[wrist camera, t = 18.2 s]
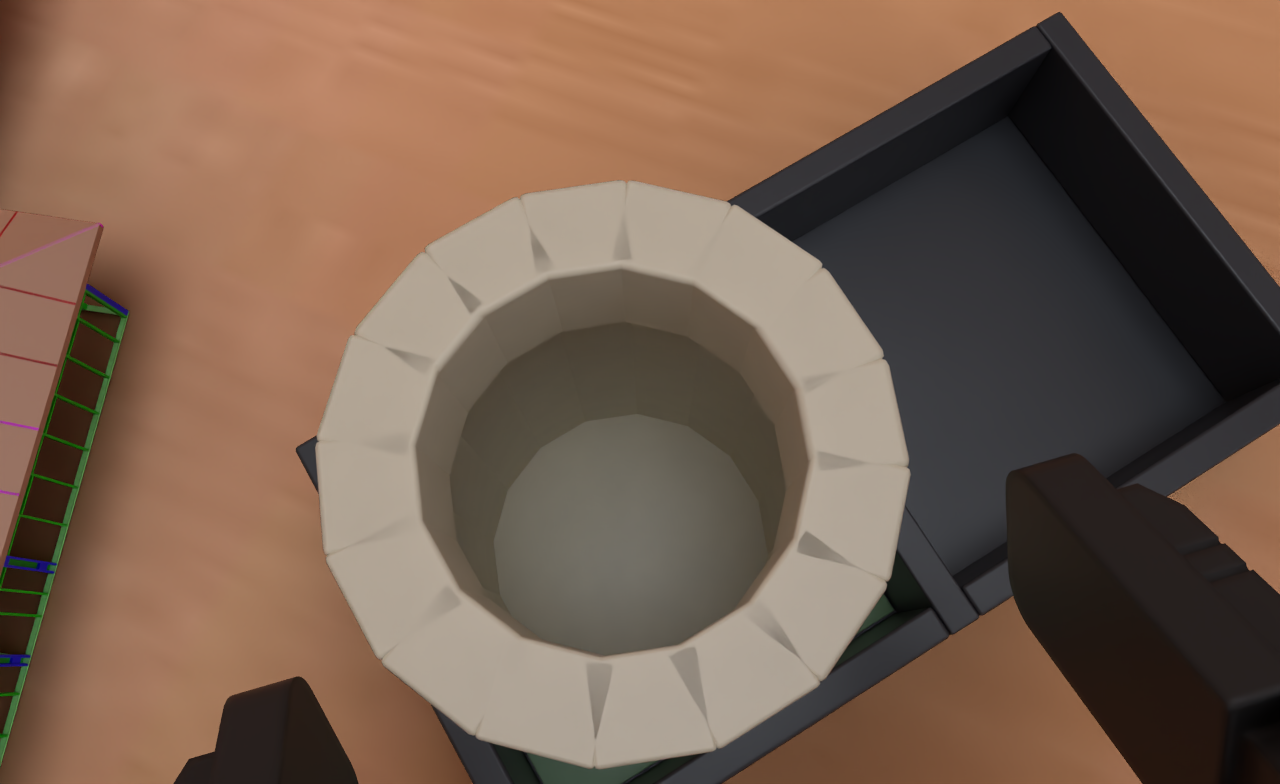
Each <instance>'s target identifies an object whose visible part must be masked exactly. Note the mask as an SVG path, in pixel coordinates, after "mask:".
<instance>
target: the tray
mask: <svg viewBox="0 0 1280 784" xmlns="http://www.w3.org/2000/svg"><path fill="white" fill-rule="evenodd" d="M727 202H728V203H730V204H731V206H733V205H737V206H739V207H740V208H742V209H743V210H745V211H746V212H748V213H749V214H751V215H752V216H754V217H755V218H757V219H758V220H760V221H761V222H763V223H764V224H766V225H767V226H769V227H770V228H772V229H773V230H775V231H776V232H778V233H779V234H781V235H782V236H784V237H785V238H787V239H788V240H790V241H791V242H793V243H794V244H796V245H797V246H799V247H800V248H802V249H803V250H805V251H806V252H808V253H809V254H811V255H812V256H814V257H815V258H816V259H818V260H819V261H820V262H821V263H822V268H825V269H826V270H827V271H829V272H830V274H831V275H832V277H833V278H834V280H835V281H836V283H837V284H838V286H839V287H840V288H841V290H842V291H843V293H844V294H845V296H846V297H847V299H848V300H849V302H850V303H851V304H852V306H853V307H854V309H855V310H856V312H857V313H858V315H859V316H860V318H861V319H862V321H863V322H864V323H865V325H866V326H867V328H868V329H869V331H870V332H871V334H872V335H873V337H874V338H875V339H876V341H877V342H878V344H879V345H880V347H881V348H882V350H883V354H884V357H883V358H882V359H884V360H886V361H887V363H888V365H889V367H890V371H891V376H892V381H893V385H894V390H895V395H896V399H897V404H898V409H899V413H900V418H901V423H902V427H903V432H904V437H905V441H906V446H907V451H908V455H909V464H908V467H907V468H908V469H910V473H911V476H910V481H909V486H908V491H907V497H906V502H905V507H904V512H903V518H902V523H901V528H900V533H899V539H898V544H897V549H896V554H895V560H894V565H893V570H892V576H891V578H890V580H889V581H888V582H886V583H887V588H886V590H885V592H884V593H883V595H882V596H881V598H880V599H879V601H878V602H877V604H876V605H875V607H874V608H873V610H872V611H871V613H870V614H869V616H868V617H867V619H866V620H865V622H864V623H863V624H862V626H861V627H860V629H859V630H858V632H857V633H856V635H855V636H854V638H853V639H852V641H851V642H850V644H849V645H848V647H847V648H846V650H845V651H844V653H843V654H842V656H841V657H840V659H839V660H838V662H837V663H836V664H835V666H834V667H833V669H832V670H831V672H830V673H829V675H828V676H827V678H826V679H824V680H823V681H820V685H819V686H818V687H817V688H816V689H814V690H813V691H811V692H809V693H808V694H806V695H805V696H803V697H802V698H800V699H798V700H797V701H795V702H794V703H792V704H791V705H789V706H787V707H786V708H784V709H783V710H781V711H780V712H778V713H777V714H775V715H773V716H772V717H770V718H769V719H767V720H766V721H764V722H762V723H761V724H759V725H758V726H756V727H755V728H753V729H751V730H750V731H748V732H747V733H745V734H744V735H742V736H740V737H739V738H737V739H736V740H734V741H733V742H731V743H729V744H728V745H726V746H725V747H723V748H719V749H718V748H717V747H716V750H714V751H713V752H708V753H702V754H695V755H689V756H683V757H676V758H670V759H663V760H657V761H651V762H644V763H638V764H632V765H625V766H619V767H612V768H606V769H600V770H599V769H596V768H595V767H594V768H592V769H587V768H583V767H580V766H576V765H572V764H568V763H564V762H561V761H557V760H553V759H549V758H546V757H542V756H538V755H534V754H530V753H527V752H523V751H519V750H515V749H512V748H508V747H504V746H500V745H497V744H493V743H489V742H485V741H481V740H478V739H477V738H476V735H474V736H473V735H469V734H468V733H467V732H465V731H464V730H463V729H462V728H460V727H459V726H458V725H457V724H455V723H454V722H453V721H451V720H450V719H449V718H448V717H446V716H445V715H444V714H443V713H441V712H440V711H439V710H438V709H436V708H435V707H434V706H433V705H431V706H432V708H433V710H434V711H435V713H436V715H437V717H438V719H439V721H440V723H441V725H442V727H443V728H444V730H445V732H446V734H447V736H448V738H449V740H450V742H451V743H452V745H453V747H454V749H455V751H456V753H457V755H458V757H459V758H460V760H461V762H462V764H463V766H464V768H465V770H466V772H467V773H468V775H469V777H470V779H471V781H472V783H473V784H722V783H724V782H725V781H727V780H728V779H730V778H731V777H733V776H735V775H736V774H738V773H739V772H741V771H742V770H744V769H745V768H747V767H748V766H750V765H752V764H753V763H755V762H756V761H758V760H759V759H761V758H762V757H764V756H766V755H767V754H769V753H770V752H772V751H773V750H775V749H776V748H778V747H779V746H781V745H783V744H784V743H786V742H787V741H789V740H790V739H792V738H793V737H795V736H797V735H798V734H800V733H801V732H803V731H804V730H806V729H807V728H809V727H811V726H812V725H814V724H815V723H817V722H818V721H820V720H821V719H823V718H824V717H826V716H828V715H829V714H831V713H832V712H834V711H835V710H837V709H838V708H840V707H842V706H843V705H845V704H846V703H848V702H849V701H851V700H852V699H854V698H856V697H857V696H859V695H860V694H862V693H863V692H865V691H866V690H868V689H869V688H871V687H873V686H874V685H876V684H877V683H879V682H880V681H882V680H883V679H885V678H887V677H888V676H890V675H891V674H893V673H894V672H896V671H897V670H899V669H901V668H902V667H904V666H905V665H907V664H908V663H910V662H911V661H913V660H914V659H916V658H918V657H919V656H921V655H922V654H924V653H925V652H927V651H928V650H930V649H932V648H933V647H935V646H936V645H938V644H939V643H941V642H942V641H944V640H945V639H947V638H948V637H949V635H952V634H955V633H957V632H958V631H960V630H961V629H963V628H964V627H966V626H968V625H969V624H971V623H972V622H974V621H975V620H977V619H978V618H979V616H981V615H984V614H986V613H987V612H989V611H990V610H992V609H994V608H995V607H997V606H998V605H1000V604H1001V603H1003V602H1004V601H1006V600H1008V599H1009V598H1011V597H1012V596H1013V593H1012V589H1011V585H1010V580H1009V573H1008V549H1007V519H1006V490H1005V488H1006V478H1007V476H1008V474H1009V472H1011V471H1013V470H1017V469H1020V468H1023V467H1027V466H1030V465H1034V464H1037V463H1041V462H1044V461H1047V460H1051V459H1054V458H1058V457H1061V456H1065V455H1068V454H1071V453H1077V454H1080V455H1081V456H1083V457H1085V458H1086V459H1087V460H1088V461H1089V462H1090V463H1091V464H1092V465H1093V466H1094V467H1095V468H1096V469H1097V470H1098V471H1099V472H1100V473H1101V474H1102V475H1103V476H1104V477H1105V478H1106V479H1107V480H1108V481H1109V482H1110V483H1111V484H1112V485H1113V486H1114V487H1115V488H1116V489H1119V488H1123V487H1126V486H1130V485H1133V484H1136V483H1138V484H1140V485H1142V486H1144V487H1147V488H1149V489H1151V490H1153V491H1155V492H1157V493H1159V494H1161V495H1163V496H1166V497H1167V496H1169V495H1170V494H1172V493H1174V492H1175V491H1177V490H1178V489H1180V488H1181V487H1183V486H1184V485H1186V484H1188V483H1189V482H1191V481H1192V480H1194V479H1195V478H1197V477H1198V476H1200V475H1201V474H1203V473H1205V472H1206V471H1208V470H1209V469H1211V468H1212V467H1214V466H1215V465H1217V464H1219V463H1220V462H1222V461H1223V460H1225V459H1226V458H1228V457H1229V456H1231V455H1233V454H1234V453H1236V452H1237V451H1239V450H1240V449H1242V448H1243V447H1245V446H1246V445H1248V444H1250V443H1251V442H1253V441H1254V440H1256V439H1257V438H1259V437H1260V436H1262V435H1264V434H1265V433H1267V432H1268V431H1270V430H1271V429H1273V428H1274V427H1276V426H1277V425H1279V424H1280V287H1279V286H1278V284H1277V283H1276V282H1275V281H1274V279H1273V278H1272V277H1271V276H1270V274H1269V273H1268V272H1267V271H1266V269H1265V268H1264V267H1263V266H1262V264H1261V263H1260V262H1259V261H1258V259H1257V258H1256V257H1255V256H1254V254H1253V253H1252V252H1251V250H1250V249H1249V248H1248V247H1247V245H1246V244H1245V243H1244V242H1243V240H1242V239H1241V238H1240V237H1239V235H1238V234H1237V233H1236V232H1235V230H1234V229H1233V228H1232V227H1231V225H1230V224H1229V223H1228V222H1227V220H1226V219H1225V218H1224V217H1223V215H1222V214H1221V213H1220V212H1219V210H1218V209H1217V208H1216V207H1215V205H1214V204H1213V203H1212V202H1211V200H1210V199H1209V198H1208V196H1207V195H1206V194H1205V193H1204V191H1203V190H1202V189H1201V188H1200V186H1199V185H1198V184H1197V183H1196V181H1195V180H1194V179H1193V178H1192V176H1191V175H1190V174H1189V173H1188V171H1187V170H1186V169H1185V168H1184V166H1183V165H1182V164H1181V163H1180V161H1179V160H1178V159H1177V158H1176V156H1175V155H1174V154H1173V153H1172V151H1171V150H1170V149H1169V147H1168V146H1167V145H1166V144H1165V142H1164V141H1163V140H1162V139H1161V137H1160V136H1159V135H1158V134H1157V132H1156V131H1155V130H1154V129H1153V127H1152V126H1151V125H1150V124H1149V122H1148V121H1147V120H1146V119H1145V117H1144V116H1143V115H1142V114H1141V112H1140V111H1139V110H1138V109H1137V107H1136V106H1135V105H1134V104H1133V102H1132V101H1131V100H1130V98H1129V97H1128V96H1127V95H1126V93H1125V92H1124V91H1123V90H1122V88H1121V87H1120V86H1119V85H1118V83H1117V82H1116V81H1115V80H1114V78H1113V77H1112V76H1111V75H1110V73H1109V72H1108V71H1107V70H1106V68H1105V67H1104V66H1103V65H1102V63H1101V62H1100V61H1099V60H1098V58H1097V57H1096V56H1095V55H1094V53H1093V52H1092V51H1091V50H1090V48H1089V47H1088V46H1087V44H1086V43H1085V42H1084V41H1083V39H1082V38H1081V37H1080V36H1079V34H1078V33H1077V32H1076V31H1075V29H1074V28H1073V27H1072V26H1071V24H1070V23H1069V22H1068V21H1067V19H1066V18H1065V17H1064V16H1063V14H1062V13H1060V12H1058V13H1056V14H1054V15H1052V16H1051V17H1049V18H1047V19H1045V20H1044V21H1042V22H1040V23H1038V24H1037V25H1036V27H1032V28H1030V29H1028V30H1026V31H1025V32H1023V33H1021V34H1019V35H1018V36H1016V37H1014V38H1012V39H1011V40H1009V41H1007V42H1005V43H1004V44H1002V45H1000V46H998V47H997V48H995V49H993V50H991V51H990V52H988V53H986V54H984V55H983V56H981V57H979V58H977V59H976V60H974V61H972V62H970V63H969V64H967V65H965V66H963V67H961V68H960V69H958V70H956V71H954V72H953V73H951V74H949V75H947V76H946V77H944V78H942V79H940V80H939V81H937V82H935V83H933V84H932V85H930V86H928V87H926V88H925V89H923V90H921V91H919V92H918V93H916V94H914V95H912V96H911V97H909V98H907V99H905V100H904V101H902V102H900V103H898V104H897V105H895V106H893V107H891V108H890V109H888V110H886V111H884V112H883V113H881V114H879V115H877V116H876V117H874V118H872V119H870V120H869V121H867V122H865V123H863V124H862V125H860V126H858V127H856V128H855V129H853V130H851V131H849V132H848V133H846V134H844V135H842V136H841V137H839V138H837V139H835V140H834V141H832V142H830V143H828V144H827V145H825V146H823V147H821V148H820V149H818V150H816V151H814V152H813V153H811V154H809V155H807V156H806V157H804V158H802V159H800V160H799V161H797V162H795V163H793V164H792V165H790V166H788V167H786V168H785V169H783V170H781V171H779V172H778V173H776V174H774V175H772V176H771V177H769V178H767V179H765V180H764V181H762V182H760V183H758V184H757V185H755V186H753V187H751V188H750V189H748V190H746V191H744V192H742V193H741V194H739V195H737V196H735V197H734V198H732V199H730V200H728V201H727ZM317 442H319V441H318V440H317V436H315V437H313V438H312V439H310V440H308V441H306V442H305V443H303V444H301V445H299V446H298V447H297V448H296V452H297V454H298V456H299V458H300V460H301V462H302V464H303V466H304V468H305V469H306V471H307V473H308V475H309V477H310V479H311V481H312V483H313V484H314V486H315V488H316V490H317V492H318V494H319V490H318V478H317V465H316V452H315V447H316V443H317Z"/></svg>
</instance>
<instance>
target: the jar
mask: <svg viewBox="0 0 1280 784" xmlns="http://www.w3.org/2000/svg"><path fill="white" fill-rule="evenodd" d="M883 357H884V354H883V350H882V348H881V347H880V345H879V344H878V342H877V341H876V339H875V338H874V337H873V335H872V334H871V332H870V331H869V329H868V328H867V326H866V325H865V323H864V322H863V321H862V319H861V318H860V316H859V315H858V313H857V312H856V310H855V309H854V307H853V306H852V304H851V303H850V302H849V300H848V299H847V297H846V296H845V294H844V293H843V291H842V290H841V288H840V287H839V286H838V284H837V283H836V281H835V280H834V278H833V277H832V275H831V274H830V272H829V271H827V270H826V269H825V268H822V263H821V262H820V261H819V260H818V259H816V258H815V257H814V256H812V255H811V254H809V253H808V252H806V251H805V250H803V249H802V248H800V247H799V246H797V245H796V244H794V243H793V242H791V241H790V240H788V239H787V238H785V237H784V236H782V235H781V234H779V233H778V232H776V231H775V230H773V229H772V228H770V227H769V226H767V225H766V224H764V223H763V222H761V221H760V220H758V219H757V218H755V217H754V216H752V215H751V214H749V213H748V212H746V211H745V210H743V209H742V208H740V207H739V206H737V205H733V206H731V204H730V203H728V202H726V201H722V200H717V199H713V198H708V197H704V196H699V195H695V194H691V193H686V192H682V191H677V190H673V189H668V188H664V187H659V186H655V185H651V184H646V183H642V182H637V181H628V182H627V183H625V181H622V180H617V181H610V182H603V183H596V184H589V185H582V186H575V187H568V188H561V189H554V190H547V191H540V192H533V193H526V194H523V195H521V197H520V199H519V198H517V197H515V198H511V199H510V200H508V201H506V202H504V203H502V204H501V205H499V206H497V207H495V208H493V209H492V210H490V211H488V212H486V213H484V214H482V215H481V216H479V217H477V218H475V219H473V220H472V221H470V222H468V223H466V224H464V225H463V226H461V227H459V228H457V229H455V230H454V231H452V232H450V233H448V234H446V235H445V236H443V237H441V238H439V239H437V240H435V241H434V242H432V243H430V244H428V245H427V246H426V247H425V253H424V252H421V253H419V254H418V255H417V256H416V257H415V258H414V259H413V260H412V261H411V263H410V264H409V265H408V266H407V267H406V269H405V270H404V271H403V272H402V273H401V275H400V276H399V277H398V278H397V279H396V281H395V282H394V283H393V284H392V285H391V287H390V288H389V289H388V290H387V291H386V293H385V294H384V295H383V296H382V297H381V299H380V300H379V301H378V302H377V303H376V305H375V306H374V307H373V308H372V309H371V311H370V312H369V313H368V314H367V315H366V317H365V318H364V319H363V320H362V321H361V323H360V324H359V325H358V326H357V327H356V330H355V335H351V336H350V337H349V339H348V341H347V344H346V347H345V350H344V353H343V356H342V359H341V362H340V366H339V369H338V372H337V375H336V378H335V381H334V384H333V387H332V390H331V393H330V396H329V399H328V402H327V405H326V408H325V411H324V414H323V417H322V421H321V424H320V427H319V430H318V433H317V440H318V441H319V442H317V443H316V447H315V452H316V465H317V478H318V490H319V503H320V516H321V529H322V542H323V551H324V553H325V555H327V557H326V563H327V565H328V567H329V569H330V570H331V572H332V574H333V576H334V578H335V580H336V582H337V584H338V586H339V588H340V589H341V591H342V593H343V595H344V597H345V599H346V601H347V603H348V605H349V607H350V609H351V610H352V612H353V614H354V616H355V618H356V620H357V622H358V624H359V626H360V628H361V630H362V631H363V633H364V635H365V637H366V639H367V641H368V643H369V645H370V647H371V649H372V651H373V652H374V654H375V656H376V657H377V658H378V659H379V660H382V661H381V662H382V664H383V666H384V667H385V668H386V669H388V670H389V671H390V672H391V673H393V674H394V675H395V676H396V677H398V678H399V679H400V680H401V681H403V682H404V683H405V684H406V685H408V686H409V687H410V688H411V689H413V690H414V691H415V692H416V693H418V694H419V695H420V696H421V697H423V698H424V699H425V700H426V701H428V702H429V703H430V704H431V705H433V706H434V707H435V708H436V709H438V710H439V711H440V712H441V713H443V714H444V715H445V716H446V717H448V718H449V719H450V720H451V721H453V722H454V723H455V724H457V725H458V726H459V727H460V728H462V729H463V730H464V731H465V732H467V733H468V734H469V735H473V736H474V735H476V738H477V739H478V740H481V741H485V742H489V743H493V744H497V745H500V746H504V747H508V748H512V749H515V750H519V751H523V752H527V753H530V754H534V755H538V756H542V757H546V758H549V759H553V760H557V761H561V762H564V763H568V764H572V765H576V766H580V767H583V768H587V769H592V768H594V767H595V768H596V769H599V770H600V769H606V768H612V767H619V766H625V765H632V764H638V763H644V762H651V761H657V760H663V759H670V758H676V757H683V756H689V755H695V754H702V753H708V752H713V751H714V750H716V747H717V748H718V749H719V748H723V747H725V746H726V745H728V744H729V743H731V742H733V741H734V740H736V739H737V738H739V737H740V736H742V735H744V734H745V733H747V732H748V731H750V730H751V729H753V728H755V727H756V726H758V725H759V724H761V723H762V722H764V721H766V720H767V719H769V718H770V717H772V716H773V715H775V714H777V713H778V712H780V711H781V710H783V709H784V708H786V707H787V706H789V705H791V704H792V703H794V702H795V701H797V700H798V699H800V698H802V697H803V696H805V695H806V694H808V693H809V692H811V691H813V690H814V689H816V688H817V687H818V686H819V685H820V681H823V680H824V679H826V678H827V676H828V675H829V673H830V672H831V670H832V669H833V667H834V666H835V664H836V663H837V662H838V660H839V659H840V657H841V656H842V654H843V653H844V651H845V650H846V648H847V647H848V645H849V644H850V642H851V641H852V639H853V638H854V636H855V635H856V633H857V632H858V630H859V629H860V627H861V626H862V624H863V623H864V622H865V620H866V619H867V617H868V616H869V614H870V613H871V611H872V610H873V608H874V607H875V605H876V604H877V602H878V601H879V599H880V598H881V596H882V595H883V593H884V592H885V590H886V588H887V583H886V582H888V581H889V580H890V578H891V576H892V570H893V565H894V560H895V554H896V549H897V544H898V539H899V533H900V528H901V523H902V518H903V512H904V507H905V502H906V497H907V491H908V486H909V481H910V476H911V473H910V469H908V468H907V467H908V464H909V455H908V451H907V446H906V441H905V437H904V432H903V427H902V423H901V418H900V413H899V409H898V404H897V399H896V395H895V390H894V385H893V381H892V376H891V371H890V367H889V365H888V363H887V361H886V360H884V359H882V358H883Z"/></svg>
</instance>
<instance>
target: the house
mask: <svg viewBox="0 0 1280 784" xmlns="http://www.w3.org/2000/svg"><path fill="white" fill-rule="evenodd" d="M103 228H104V226H103V225H102V224H100V223H93V222H86V221H79V220H72V219H65V218H59V217H52V216H45V215H38V214H31V213H24V212H17V211H10V210H3V209H0V591H8V592H18V593H28V594H38V595H42V597H41V600H40V604H39V607H38V611H37V614H25V613H10V612H0V615H10V616H25V617H36V618H35V621H34V625H33V628H32V632H31V635H30V639H29V642H28V646H27V649H26V653H25V654H5V653H0V667H12V666H22V667H21V670H20V674H19V677H18V681H17V684H16V688H15V691H14V692H4V693H0V696H13V698H12V702H11V705H10V709H9V712H8V716H7V719H6V723H5V726H4V730H3V733H2V734H0V738H1V740H0V767H1V763H2V760H3V756H4V753H5V749H6V745H7V742H8V738H9V735H10V731H11V728H12V724H13V721H14V717H15V714H16V710H17V707H18V703H19V700H20V696H21V693H22V689H23V686H24V682H25V679H26V675H27V671H28V668H29V664H30V661H31V657H32V654H33V650H34V647H35V643H36V640H37V636H38V633H39V629H40V626H41V622H42V619H43V615H44V612H45V608H46V605H47V601H48V597H49V594H50V590H51V587H52V583H53V580H54V576H55V573H56V569H57V566H58V562H59V559H60V555H61V552H62V548H63V545H64V541H65V538H66V534H67V531H68V527H69V523H70V520H71V516H72V513H73V509H74V506H75V502H76V499H77V495H78V492H79V488H80V485H81V481H82V478H83V474H84V471H85V467H86V464H87V460H88V457H89V453H90V449H91V446H92V442H93V439H94V435H95V432H96V428H97V425H98V421H99V418H100V414H101V411H102V407H103V404H104V400H105V397H106V393H107V390H108V386H109V383H110V379H111V375H112V372H113V368H114V365H115V361H116V358H117V354H118V351H119V347H120V344H121V340H122V337H123V333H124V330H125V326H126V323H127V319H128V316H129V312H130V311H128V310H127V309H125V308H124V307H122V306H121V305H119V304H117V303H116V302H114V301H113V300H111V299H110V298H108V297H107V296H105V295H104V294H102V293H101V292H99V291H98V290H96V289H95V288H93V287H92V286H90V285H89V284H87V282H88V279H89V275H90V272H91V269H92V265H93V262H94V258H95V255H96V252H97V248H98V245H99V242H100V238H101V235H102V231H103ZM86 295H87V296H89V297H90V298H92V299H93V300H95V301H97V302H98V303H100V304H101V305H103V306H104V307H99V306H93V305H87V304H86V303H84V300H85V297H86ZM81 310H86V311H93V312H100V313H106V314H113V315H118V316H120V317H121V320H120V323H119V327H118V330H117V334H116V337H115V338H114V337H112V336H110V335H109V334H107V333H105V332H104V331H102V330H100V329H99V328H97V327H95V326H94V325H92V324H90V323H89V322H87V321H85V320H84V319H82V318H80V314H81ZM79 322H80V323H82V324H83V325H85V326H87V327H89V328H90V329H92V330H94V331H95V332H97V333H99V334H101V335H102V336H104V337H106V338H107V339H109V340H111V341H113V342H114V344H113V348H112V351H111V355H110V358H109V362H108V365H107V369H106V372H105V374H104V373H102V372H100V371H98V370H96V369H94V368H92V367H90V366H88V365H86V364H84V363H83V362H81V361H79V360H77V359H75V358H73V357H71V356H70V352H71V349H72V346H73V342H74V339H75V335H76V332H77V329H78V325H79ZM67 359H68V360H70V361H72V362H74V363H76V364H78V365H80V366H81V367H83V368H85V369H87V370H89V371H91V372H93V373H95V374H97V375H99V376H101V377H103V378H104V379H103V383H102V386H101V390H100V393H99V397H98V400H97V404H96V407H95V410H92V409H90V408H88V407H86V406H83V405H81V404H79V403H77V402H74V401H72V400H70V399H67V398H65V397H63V396H61V395H58V394H57V392H58V388H59V385H60V381H61V378H62V375H63V371H64V368H65V364H66V361H67ZM57 398H58V399H60V400H63V401H65V402H67V403H69V404H72V405H74V406H76V407H79V408H81V409H83V410H86V411H88V412H90V413H92V414H93V418H92V421H91V425H90V428H89V432H88V435H87V439H86V442H85V446H84V447H81V446H79V445H76V444H73V443H70V442H68V441H65V440H62V439H60V438H57V437H54V436H51V435H49V434H47V430H48V427H49V424H50V420H51V417H52V413H53V410H54V407H55V403H56V400H57ZM44 437H47V438H49V439H52V440H55V441H58V442H60V443H63V444H66V445H69V446H71V447H74V448H77V449H80V450H83V453H82V456H81V460H80V463H79V467H78V470H77V474H76V478H75V481H74V485H71V484H68V483H64V482H61V481H58V480H54V479H51V478H47V477H44V476H41V475H37V474H34V469H35V466H36V463H37V459H38V456H39V452H40V449H41V446H42V442H43V439H44ZM34 477H36V478H40V479H43V480H46V481H50V482H53V483H57V484H60V485H64V486H67V487H71V488H72V492H71V495H70V499H69V502H68V506H67V509H66V513H65V516H64V520H63V523H58V522H54V521H49V520H45V519H40V518H36V517H31V516H27V515H23V512H24V508H25V505H26V502H27V498H28V495H29V491H30V488H31V485H32V481H33V478H34ZM20 517H23V518H27V519H32V520H37V521H41V522H46V523H50V524H55V525H59V526H62V527H61V530H60V534H59V537H58V541H57V544H56V548H55V551H54V555H53V558H52V562H45V561H39V560H33V559H26V558H20V557H13V556H9V554H10V551H11V547H12V544H13V541H14V537H15V534H16V530H17V527H18V524H19V520H20ZM7 567H9V568H16V569H23V570H31V571H38V572H45V573H48V576H47V579H46V583H45V586H44V590H43V592H35V591H26V590H16V589H7V588H1V586H2V583H3V580H4V576H5V573H6V569H7Z"/></svg>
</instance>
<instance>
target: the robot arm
mask: <svg viewBox="0 0 1280 784" xmlns="http://www.w3.org/2000/svg"><path fill="white" fill-rule="evenodd" d="M1005 490H1006V519H1007V549H1008V573H1009V580H1010V585H1011V589H1012V593H1013V596H1014V599H1015V601H1016V604H1017V606H1018V609H1019V611H1020V613H1021V615H1022V617H1023V619H1024V621H1025V622H1026V624H1027V626H1028V627H1029V629H1030V630H1031V631H1032V633H1033V634H1034V636H1035V637H1036V638H1037V640H1038V641H1039V642H1040V644H1041V645H1042V646H1043V648H1044V649H1045V651H1046V652H1047V653H1048V655H1049V656H1050V657H1051V659H1052V660H1053V662H1054V663H1055V664H1056V666H1057V667H1058V668H1059V670H1060V671H1061V672H1062V674H1063V675H1064V677H1065V678H1066V679H1067V681H1068V682H1069V683H1070V685H1071V686H1072V688H1073V689H1074V690H1075V692H1076V693H1077V694H1078V696H1079V697H1080V699H1081V700H1082V701H1083V703H1084V704H1085V705H1086V707H1087V708H1088V709H1089V711H1090V712H1091V714H1092V715H1093V716H1094V718H1095V719H1096V720H1097V722H1098V723H1099V725H1100V726H1101V727H1102V729H1103V730H1104V731H1105V733H1106V734H1107V735H1108V737H1109V738H1110V740H1111V741H1112V742H1113V744H1114V745H1115V746H1116V748H1117V749H1118V751H1119V752H1120V753H1121V755H1122V756H1123V757H1124V759H1125V760H1126V762H1127V763H1128V764H1129V766H1130V767H1131V768H1132V770H1133V771H1134V772H1135V774H1136V775H1137V777H1138V778H1139V779H1140V781H1141V782H1142V783H1143V784H1280V594H1278V593H1277V592H1276V591H1275V590H1274V589H1273V588H1272V587H1271V586H1270V585H1269V584H1268V583H1267V582H1266V581H1265V580H1263V579H1262V578H1261V577H1260V576H1259V575H1258V574H1257V573H1256V572H1255V571H1254V570H1251V571H1249V570H1248V568H1247V566H1246V563H1245V562H1244V561H1243V560H1242V559H1241V558H1240V557H1239V556H1238V555H1237V554H1236V553H1235V552H1234V551H1233V550H1231V549H1230V548H1229V547H1228V546H1227V545H1226V544H1225V543H1224V544H1221V543H1220V542H1219V540H1218V536H1217V535H1215V534H1214V533H1213V532H1212V531H1211V530H1210V529H1209V528H1208V527H1207V526H1206V525H1205V524H1204V523H1203V522H1202V521H1201V520H1199V519H1198V518H1197V517H1196V516H1195V515H1194V514H1193V513H1192V512H1191V511H1190V510H1189V509H1188V508H1187V507H1186V506H1185V505H1182V504H1180V503H1178V502H1176V501H1174V500H1172V499H1170V498H1168V497H1166V496H1163V495H1161V494H1159V493H1157V492H1155V491H1153V490H1151V489H1149V488H1147V487H1144V486H1142V485H1140V484H1138V483H1136V484H1133V485H1130V486H1126V487H1123V488H1119V489H1116V488H1115V487H1114V486H1113V485H1112V484H1111V483H1110V482H1109V481H1108V480H1107V479H1106V478H1105V477H1104V476H1103V475H1102V474H1101V473H1100V472H1099V471H1098V470H1097V469H1096V468H1095V467H1094V466H1093V465H1092V464H1091V463H1090V462H1089V461H1088V460H1087V459H1086V458H1085V457H1083V456H1081V455H1080V454H1077V453H1071V454H1068V455H1065V456H1061V457H1058V458H1054V459H1051V460H1047V461H1044V462H1041V463H1037V464H1034V465H1030V466H1027V467H1023V468H1020V469H1017V470H1013V471H1011V472H1009V474H1008V476H1007V478H1006V488H1005ZM174 784H358V780H357V777H356V774H355V772H354V769H353V767H352V765H351V762H350V761H349V759H348V757H347V755H346V753H345V751H344V749H343V747H342V746H341V744H340V742H339V740H338V738H337V736H336V734H335V732H334V731H333V729H332V727H331V725H330V723H329V721H328V719H327V718H326V716H325V714H324V712H323V710H322V708H321V706H320V704H319V703H318V701H317V699H316V697H315V695H314V693H313V691H312V690H311V688H310V686H309V684H308V683H307V682H306V681H305V680H304V679H303V678H302V677H294V678H290V679H287V680H283V681H280V682H277V683H273V684H270V685H266V686H263V687H259V688H256V689H253V690H249V691H246V692H242V693H239V694H235V695H232V696H230V697H229V698H228V699H227V701H226V703H225V705H224V709H223V713H222V718H221V723H220V728H219V733H218V738H217V743H216V748H215V752H212V753H208V754H205V755H201V756H198V757H195V758H191V759H189V760H188V762H187V763H186V765H185V766H184V768H183V769H182V771H181V773H180V774H179V776H178V777H177V779H176V781H175V782H174Z"/></svg>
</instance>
